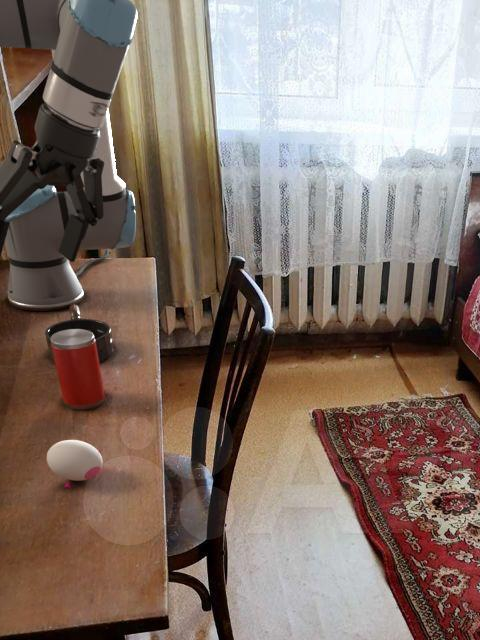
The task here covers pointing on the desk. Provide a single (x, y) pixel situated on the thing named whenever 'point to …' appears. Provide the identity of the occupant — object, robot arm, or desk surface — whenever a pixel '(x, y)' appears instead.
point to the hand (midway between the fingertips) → (30, 258)
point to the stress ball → (74, 460)
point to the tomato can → (78, 368)
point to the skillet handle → (74, 312)
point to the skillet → (96, 327)
